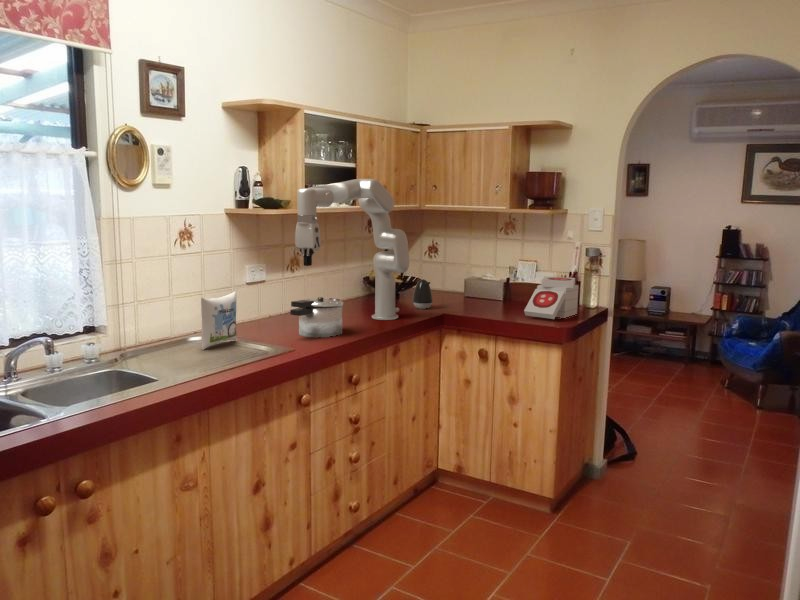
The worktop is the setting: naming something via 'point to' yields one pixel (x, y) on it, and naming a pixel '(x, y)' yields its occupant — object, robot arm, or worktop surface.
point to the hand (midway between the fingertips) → (307, 265)
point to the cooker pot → (319, 321)
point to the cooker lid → (317, 302)
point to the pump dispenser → (422, 295)
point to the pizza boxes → (554, 298)
